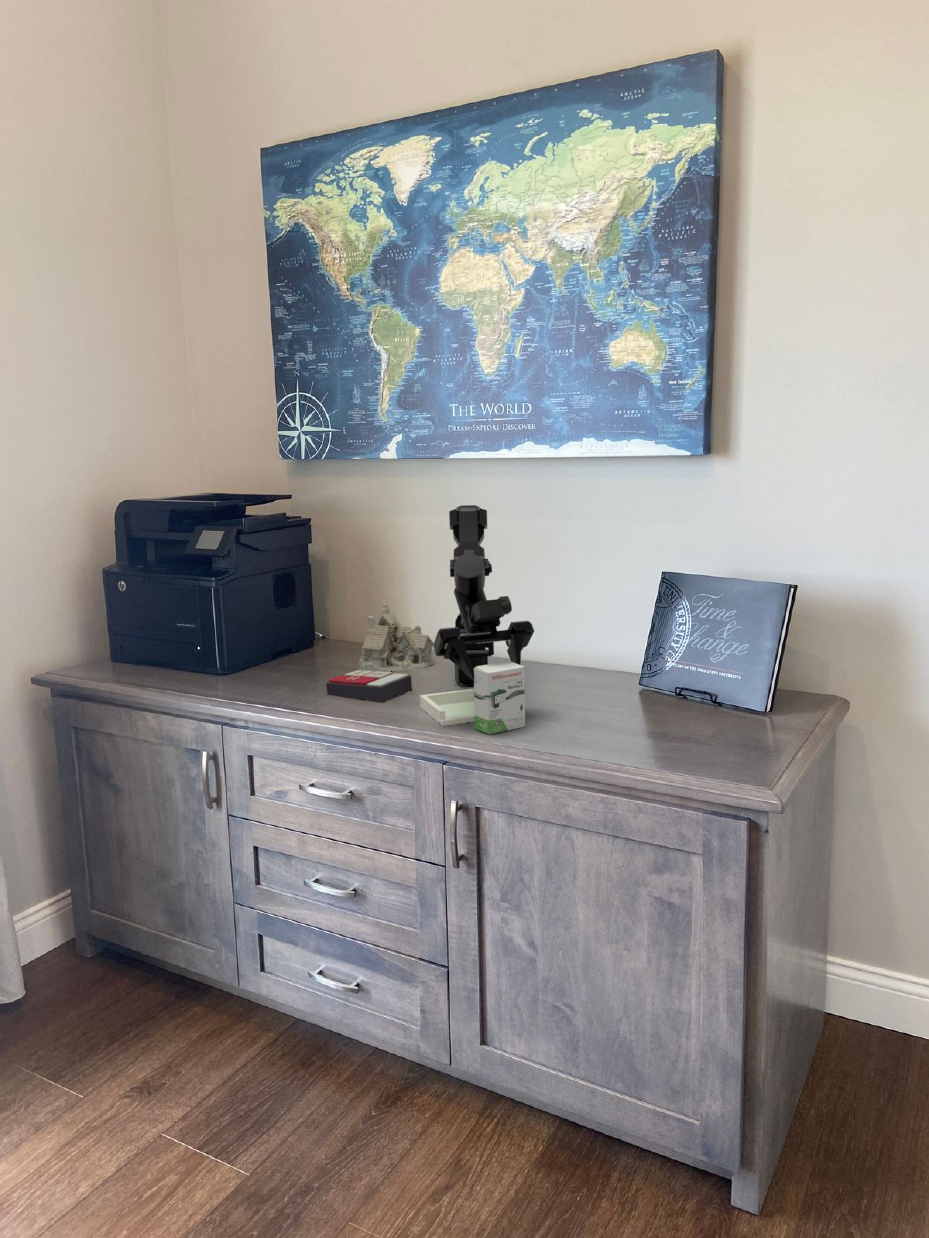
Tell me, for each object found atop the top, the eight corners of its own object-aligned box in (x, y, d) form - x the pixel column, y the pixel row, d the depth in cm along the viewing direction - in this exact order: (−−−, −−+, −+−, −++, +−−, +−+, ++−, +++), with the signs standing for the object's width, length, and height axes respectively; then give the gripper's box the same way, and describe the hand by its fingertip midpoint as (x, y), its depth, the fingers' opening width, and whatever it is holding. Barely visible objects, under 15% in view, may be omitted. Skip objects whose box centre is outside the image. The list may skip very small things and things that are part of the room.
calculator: (356, 668, 209) (411, 671, 201) (358, 687, 210) (413, 691, 202) (324, 679, 200) (380, 683, 192) (326, 699, 200) (382, 703, 192)
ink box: (488, 735, 169) (487, 672, 167) (473, 728, 173) (471, 666, 171) (526, 726, 174) (526, 664, 171) (511, 720, 178) (510, 659, 175)
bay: (480, 699, 192) (480, 687, 192) (506, 717, 180) (506, 705, 179) (420, 707, 188) (419, 695, 188) (442, 726, 175) (441, 713, 175)
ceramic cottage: (347, 668, 222) (349, 606, 219) (391, 657, 235) (393, 599, 232) (399, 681, 213) (401, 616, 210) (441, 668, 227) (444, 608, 224)
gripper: (436, 586, 171) (457, 656, 163) (529, 578, 177) (554, 646, 169) (425, 621, 180) (444, 689, 172) (514, 613, 186) (537, 679, 178)
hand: (496, 675), depth 172 cm, fingers closed on ink box, 9 cm apart
